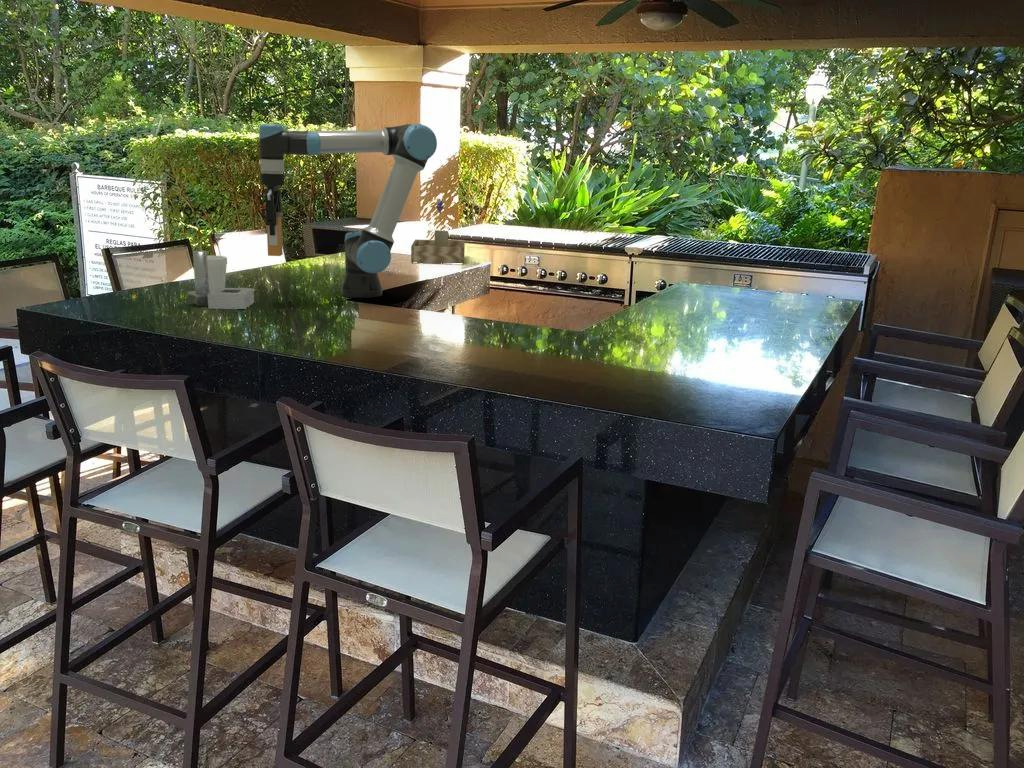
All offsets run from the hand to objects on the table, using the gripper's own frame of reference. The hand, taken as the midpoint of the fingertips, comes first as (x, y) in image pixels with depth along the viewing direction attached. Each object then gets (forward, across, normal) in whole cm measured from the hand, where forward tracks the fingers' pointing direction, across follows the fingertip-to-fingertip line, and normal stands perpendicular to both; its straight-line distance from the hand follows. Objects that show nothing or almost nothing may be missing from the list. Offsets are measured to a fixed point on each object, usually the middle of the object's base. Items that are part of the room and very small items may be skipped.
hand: (274, 244), depth 288 cm
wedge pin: (+4, 0, 0) cm, 4 cm away
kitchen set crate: (+20, -122, +50) cm, 133 cm away
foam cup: (+21, -18, -26) cm, 38 cm away
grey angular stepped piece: (+21, -2, -19) cm, 28 cm away
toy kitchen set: (+21, -122, +53) cm, 135 cm away
